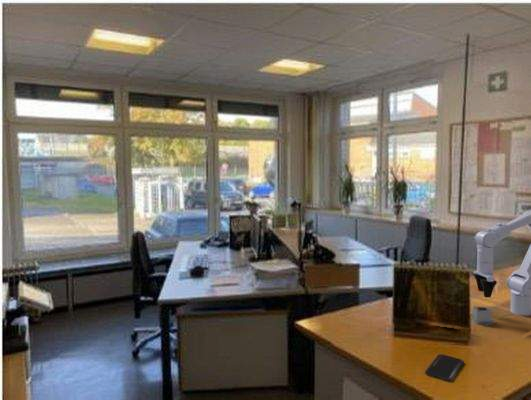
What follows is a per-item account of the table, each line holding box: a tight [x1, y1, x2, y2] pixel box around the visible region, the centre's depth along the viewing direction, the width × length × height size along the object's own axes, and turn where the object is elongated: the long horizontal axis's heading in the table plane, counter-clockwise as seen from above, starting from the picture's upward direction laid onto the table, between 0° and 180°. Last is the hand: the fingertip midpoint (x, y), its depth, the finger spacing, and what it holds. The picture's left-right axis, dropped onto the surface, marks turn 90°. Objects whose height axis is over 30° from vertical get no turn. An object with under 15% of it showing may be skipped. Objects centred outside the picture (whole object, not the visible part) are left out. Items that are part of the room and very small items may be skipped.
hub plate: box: [470, 318, 496, 327], centre depth 161 cm, size 7×7×4 cm
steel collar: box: [472, 305, 493, 325], centre depth 161 cm, size 5×5×5 cm
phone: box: [424, 353, 465, 382], centre depth 128 cm, size 8×1×15 cm
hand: (484, 294), depth 167 cm, fingers open, 7 cm apart
